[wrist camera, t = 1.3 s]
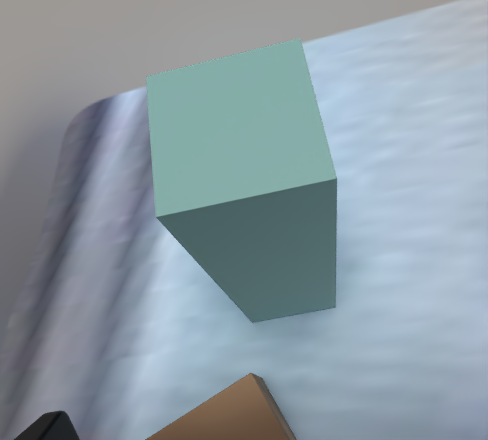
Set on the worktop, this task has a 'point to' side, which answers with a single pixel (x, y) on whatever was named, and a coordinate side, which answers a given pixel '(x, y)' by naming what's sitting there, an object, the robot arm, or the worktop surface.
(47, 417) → the robot arm
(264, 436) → the walnut box
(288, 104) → the teal post
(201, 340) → the worktop surface
